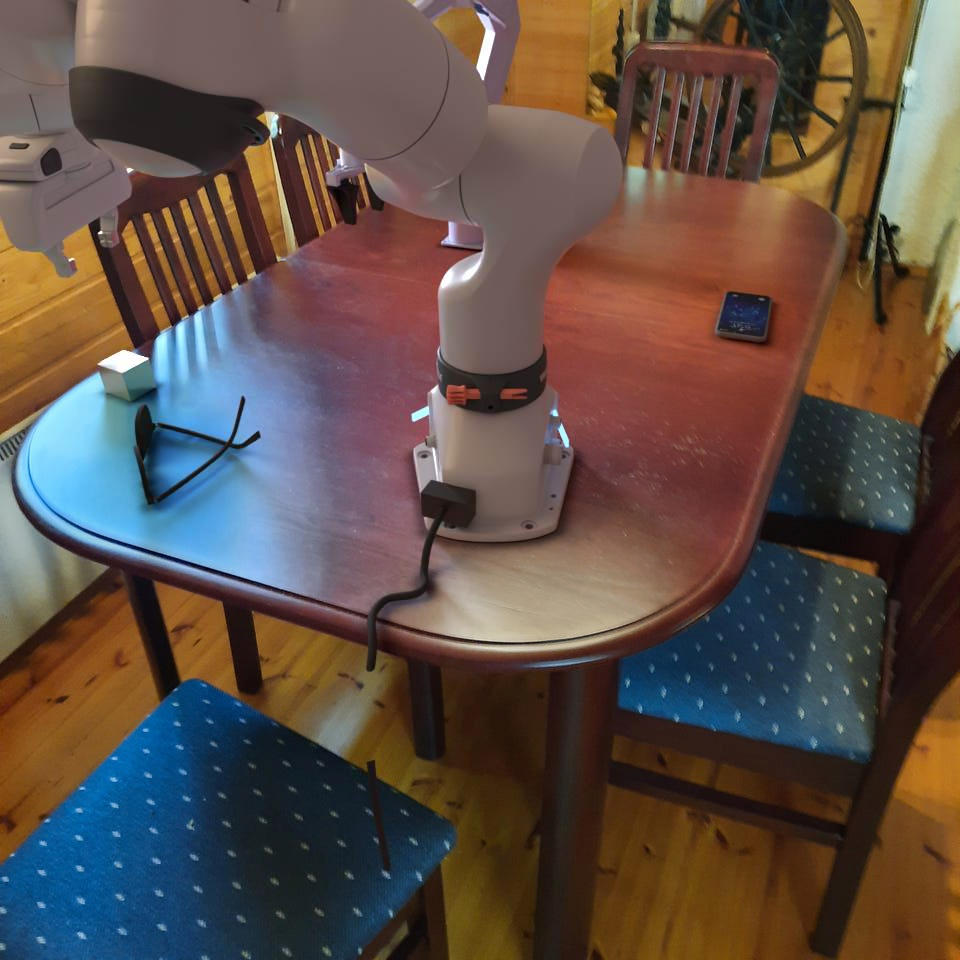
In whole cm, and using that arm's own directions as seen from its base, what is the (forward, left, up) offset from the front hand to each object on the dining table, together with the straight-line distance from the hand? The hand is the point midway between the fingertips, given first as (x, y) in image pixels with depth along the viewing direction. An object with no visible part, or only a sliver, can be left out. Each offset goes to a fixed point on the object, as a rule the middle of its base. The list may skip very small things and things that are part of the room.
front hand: (90, 259), depth 104 cm
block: (0, 0, -18) cm, 18 cm away
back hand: (+46, -26, -11) cm, 53 cm away
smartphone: (+20, -86, -18) cm, 90 cm away
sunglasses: (-16, -15, -18) cm, 28 cm away
